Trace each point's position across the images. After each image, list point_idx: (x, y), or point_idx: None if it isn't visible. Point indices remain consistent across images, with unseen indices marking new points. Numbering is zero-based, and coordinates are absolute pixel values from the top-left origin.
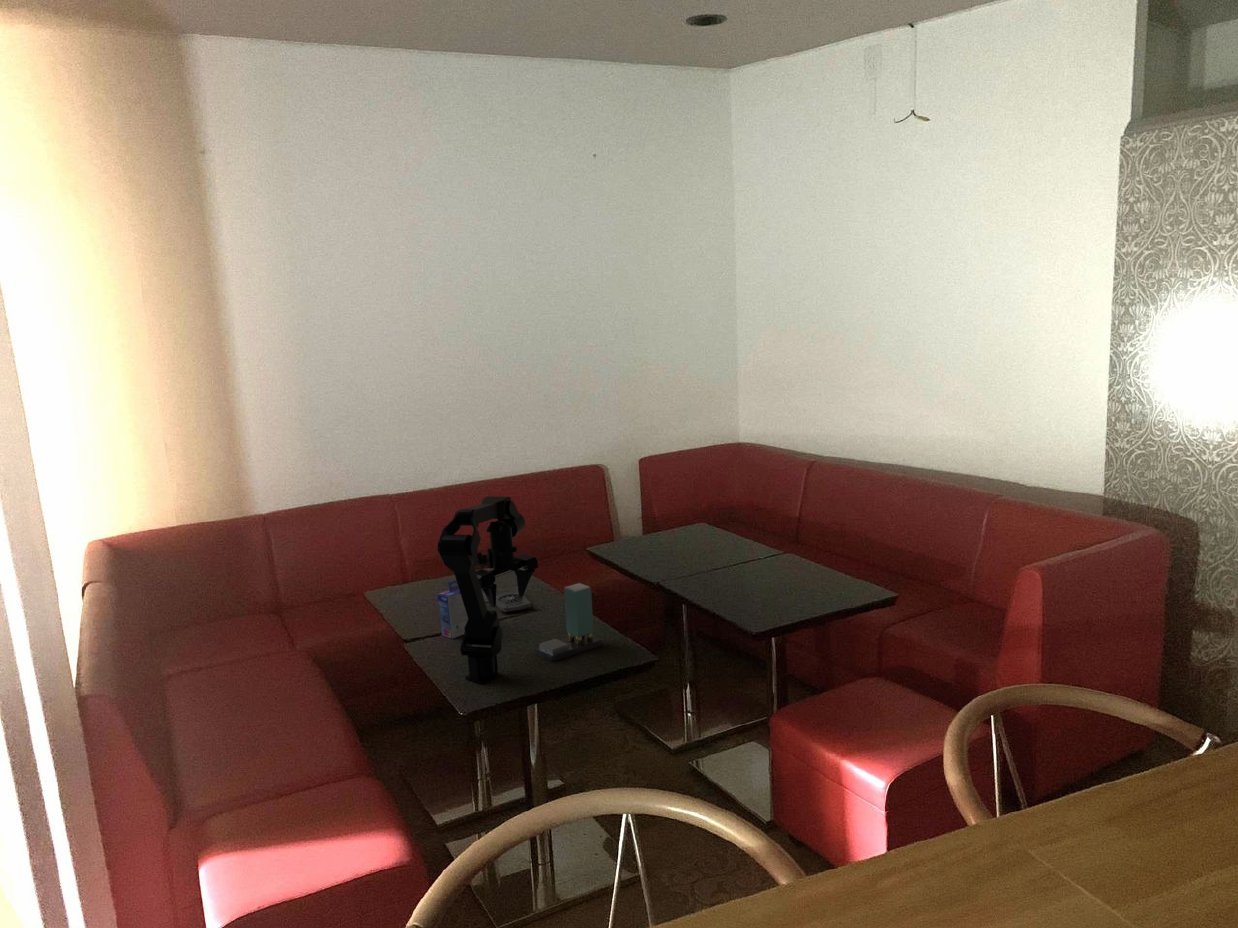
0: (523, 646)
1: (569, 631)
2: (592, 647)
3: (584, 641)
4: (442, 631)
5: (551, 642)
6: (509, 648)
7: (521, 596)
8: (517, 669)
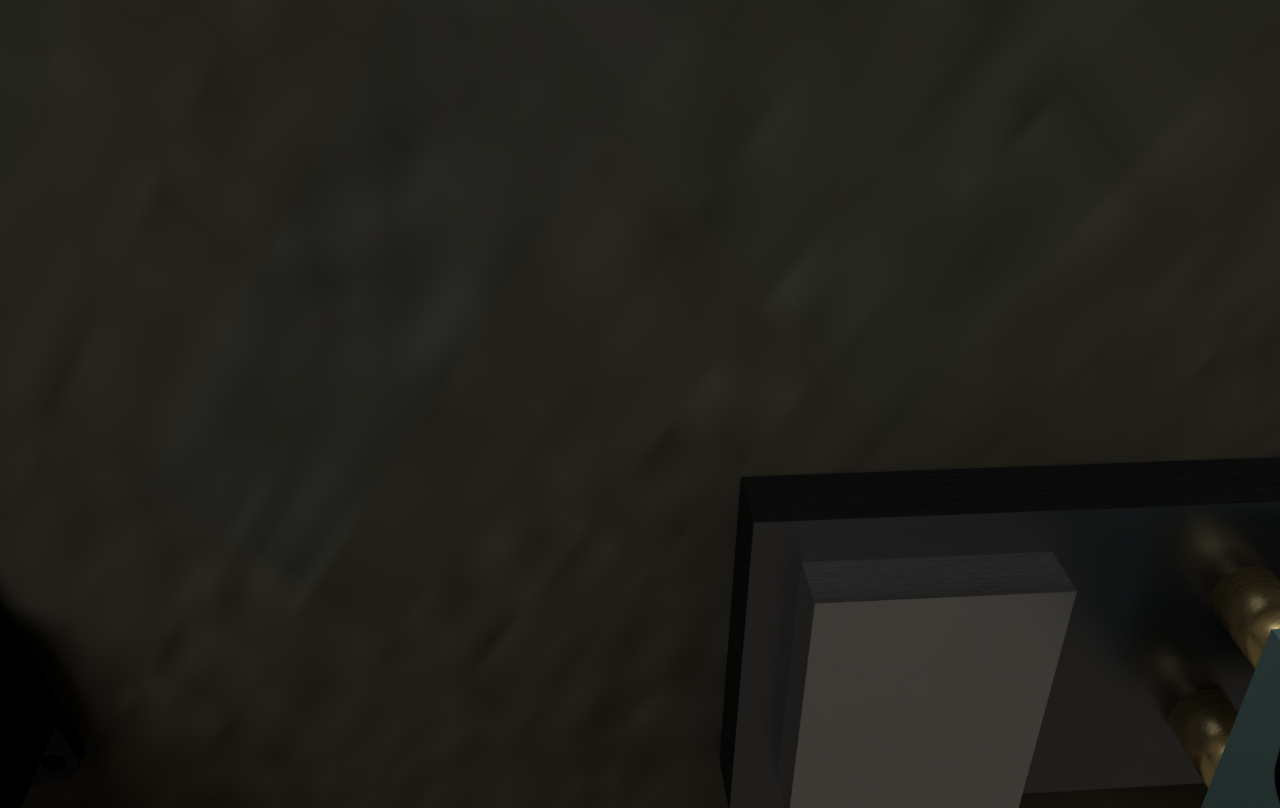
0: (817, 155)
1: (1268, 700)
2: None
3: None
4: None
5: (943, 662)
6: (619, 69)
7: (1276, 786)
8: (317, 711)
